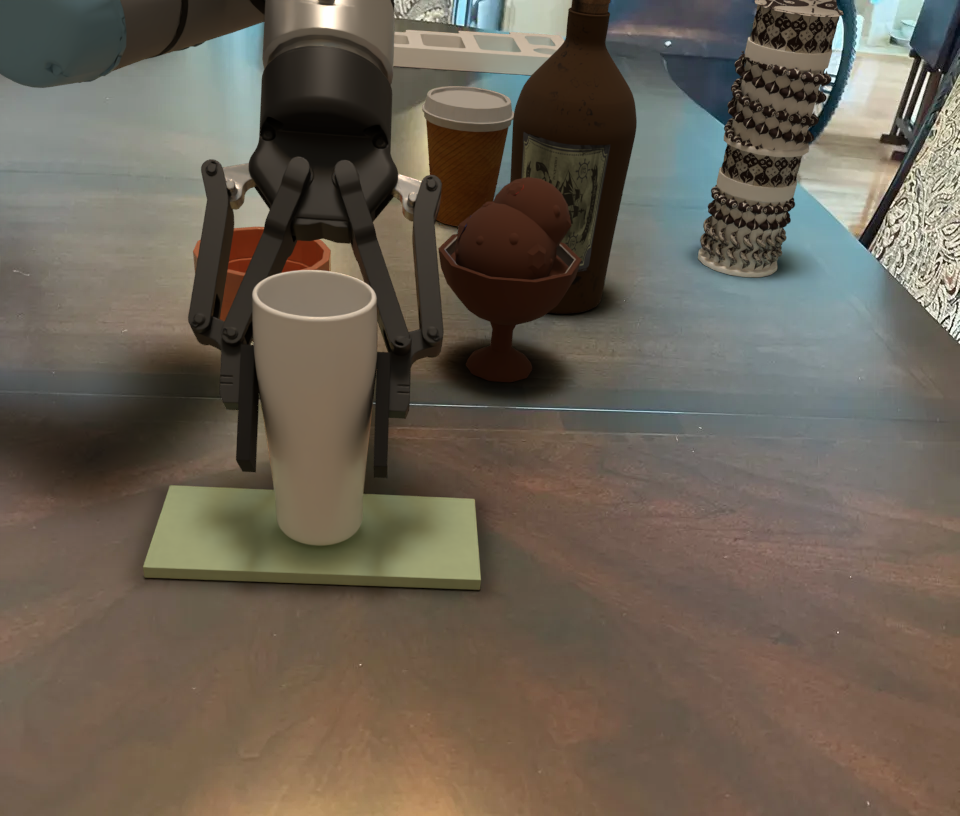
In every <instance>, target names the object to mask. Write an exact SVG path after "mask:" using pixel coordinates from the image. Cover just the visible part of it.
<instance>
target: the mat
mask: <svg viewBox="0 0 960 816" xmlns="http://www.w3.org/2000/svg"><path fill="white" fill-rule="evenodd" d="M477 524H478V522H477V510H476V500H475V498H468V497H467V498H463V497H442V496H441V497H440V496H420V495H419V496H418V495H397V494H378V493H377V494H375V493H363V520H362V524H361V526H360V528H359V530H358V531H357V532H356V533H355V534H354V535H353V536H352V537H350V538H349V539H347V540H345V541H343V542H340V543H337V544H332V545H325V546H315V545H307V544H303V543H300V542H297V541H295V540H293V539H291V538H289V537H288V536H287V535H285V534H284V533H283V532H282V530H281V529H280V527H279V525H278V523H277V519H276V506H275V493H274V489H263V488H244V487H243V488H240V487H218V486H217V487H216V486H197V485H195V486H194V485H173V484H170V485H169V486H168V490H167V493H166V496H165V499H164V502H163V505H162V509H161V511H160V514H159V517H158V520H157V523H156V526H155V529H154V532H153V535H152V538H151V542H150V544H149V546H148V547H149V548H148V550H147V554H146V557H145V559H144V562H143V565H142V571H143V577H144V578H148V579H173V580H174V579H175V580H178V579H179V580H200V581H201V580H202V581H203V580H204V581H228V582H256V583H257V582H259V583H283V584H284V583H285V584H307V585H308V584H309V585H310V584H311V585H312V584H313V585H334V586H335V585H336V586H337V585H339V586H365V587H390V588H391V587H392V588H420V589H422V588H424V589H444V590H473V591H480V590H481V584H482V575H481V562H480V549H479V537H478V535H479V534H478V525H477Z"/></svg>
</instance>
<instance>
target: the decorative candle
mask: <svg viewBox="0 0 960 816" xmlns="http://www.w3.org/2000/svg"><path fill="white" fill-rule="evenodd" d="M754 4H755V5H756V12H755V15H754V18H753V23H752V30H751V33H750V35H749V36H748V37H747V41H746V44H745V45H746V46H745V51H744V50H741V54H740V56H739V57H738V59H737V60H735V62H734V71H735V73H736V74H737V75H738V76H739V78H736V79H735V80H734V81H733V84H732V85H731V86H730V91H731V93H732V94H731V95H732V98H731V100H729V101H728V102H727V108H728V109H727V113H728V114H729V115H730V116H731V117H732V118H729V119H728V120H727V122H726V123H725V124H724V126H723V131H724V132H723V133H724V134H723V141H724V142H725V143H726V146H725V150H724V155H723V161H722V163H721V166H720V167H719V168H718V173H717V178H716V184H715V186H713V187H711V189H710V196H711V198H712V199H713V200H712V201H711V202H709V203H708V204H707V213H708V214H709V215H710V216H708V217H707V218H705V220H704V221H703V225H702V226H703V231H704V233H702V234H701V236H700V238H699V243H700V246H701V248H699V250H698V254H697V260H698V261H699V262H701V263H702V265H704V266H705V267H707V268H709V269H711V270H713V271H715V272H719V273H721V274H726V275H729V276H734V277H742V278H762V277H767V276H771V275H773V274H774V273H776V272H777V270H778V260H779V258H780V257H781V256H783V251H782V248H783V247H782V246H783V243H785V242H786V241H787V236H786V234H787V231H786V230H785V228H786V227H787V226H788V225H789V224H790V223H791V221H792V218H791V214H790V212H791V211H792V209H793V210H794V208H795V207H796V201H795V197H794V196H795V192H796V189H797V186H798V179H797V177H798V174H799V172H800V167H801V163H802V159H803V156H804V155H805V156H806V154H808V153H809V152H810V145H809V143H812V142H813V141H814V140H815V136H814V134H813V133H812V132H811V130H810V128H811V127H814V126H816V125H818V123H819V121H820V118H819V117H818V116H817V115H816V112H815V111H814V109H815V107H816V106H819V105H820V104H823V103H824V102H825V103H826V101H827V98H828V97H827V94H825V93H824V92H823V90H821V89H823V88H824V87H825V86H828V85H829V84H831V82H832V76H831V75H830V74H829V72H828V70H826V69H828V68H829V66H830V62H831V57H832V54H833V49H832V46H833V41H834V38H835V35H836V32H837V26H838V23H839V21H840V17H841V16H844V15H845V14H844V12H843V10H840V9H839V8H838V2H837V0H754ZM825 70H826V71H825ZM824 71H825V72H824Z"/></svg>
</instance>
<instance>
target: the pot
mask: <svg viewBox="0 0 960 816" xmlns="http://www.w3.org/2000/svg"><path fill="white" fill-rule="evenodd" d="M263 231H264V226H245V227H234V232H233V239H232V245H231V251H230V258H229V264H228V270H227V277H226V283H225V289H224V296H223V302H222V308H221V315H220V320H223V321H225V319H226V317H227V314H228V312H229V310H230V307H231V305H232V303H233V301H234V298H235V296H236V294H237V291H238V289H239V287H240V284H241V282H242V280H243V277H244V275H245V273H246V270H247V268H248V266H249V263H250V261H251V259H252V257H253V254H254V252H255V250H256V247H257V245H258V243H259V240H260V238H261V236H262V233H263ZM200 241H201V239H199V240H197V242H196V243H195V245H194V247H193V250H192V257H193V267H194V268H193V269H194V273H195V272H196V265H197V259H198V253H199V247H200ZM297 270H323V271H331V272H332V250H331V249H330V247H328V245H327V244H326V243H325V242H324V241H323V239H319V240H313V241H297V243H296V245H295V248H294V250H293V252H292V254H291V256H290V257H288V259H287V261H286V263H285V266H284V268H283V270H282V273H283V272H289V271H297Z"/></svg>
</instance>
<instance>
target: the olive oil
mask: <svg viewBox="0 0 960 816" xmlns="http://www.w3.org/2000/svg"><path fill="white" fill-rule="evenodd" d="M610 4H611V0H571V5H570V7H569V8H568V10H567V11H568V12H567V20H566V29H565V30H566V31H565V39H564V40H565V41H564V43H563V44H562V45H561V46H560V48H559V49H558V50H557V51H556V52H555V53H554V54H553V55H552V56H551V57H550V58H549V59H548V60H546V61H545V62H544V63H543V64H542V65H541V66H540V67H539V68H538V69H537V70H536V71H535V72H534V73H533V74H532V75H530V76H529V77H528V79H527V80H526V81H525V83H524V85H523V87H522V88H521V90H520V93H519V96H518V97H517V101H516V104H515V107H514V110H513V112H514V116H513V120H512V131H511V132H512V133H511V155H510V157H511V158H510V179H509V181H510V182H509V183H511V182H512V181H514V180H516V179H521V178H526V177H532V178H539V179H542V180H544V181H546V182H548V183H550V184H552V185H553V186H554V187H556V188H557V189H558V190H559V191H560V192H561V193H562V195H563V197H564V199H565V201H566V203H567V204H568V209H569V214H570V220H571V225H572V226H571V227H570V229H569V230H568V232H567V234H566V235H565V237H564V238H563V240H562V241H561V242H562V243H565V244H566V245H567V246H568V247H569V248H570V249H571V250H572V251H573V252H574V253H575V254H576V255H577V256H578V257H579V258H580V259H581V263H580V266H579V269H578V271H577V274H576V277H575V279H574V281H573V282H572V284H571V286H570V287H569V289H568V290H567V292H566V294H565V295H564V296H563V298H562V299H561V301H560V302H559V304H558V305H557V306H556V307H555V308H553V309H552V310H551V311H550V312H548V313H547V314H558V315H559V314H560V315H561V314H562V315H569V314H570V315H571V314H579V313H584V312H588V311H591V310H592V309H595V308H596V307H597V306H598V305H600V303H601V301H602V297H603V293H604V288H605V282H606V277H607V272H608V267H609V261H610V256H611V251H612V247H613V241H614V236H615V231H616V227H617V222H618V217H619V212H620V209H621V208H620V207H621V202H622V198H623V193H624V189H625V184H626V179H627V175H628V171H629V166H630V161H631V157H632V152H633V148H634V144H635V139H636V133H637V126H638V125H637V119H638V117H637V110H636V101H635V98H634V94H633V92H632V90H631V87H630V85H629V83H628V82H627V81H626V79H625V77H624V76H623V74H622V72H621V71H620V69H619V67H618V66H617V64H616V62H615V61H614V59H613V57H612V56H611V54H610V53H609V50H608V48H607V43H606V42H607V35H608V30H609V24H610V17H611V13H610V12H609V7H610Z"/></svg>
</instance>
